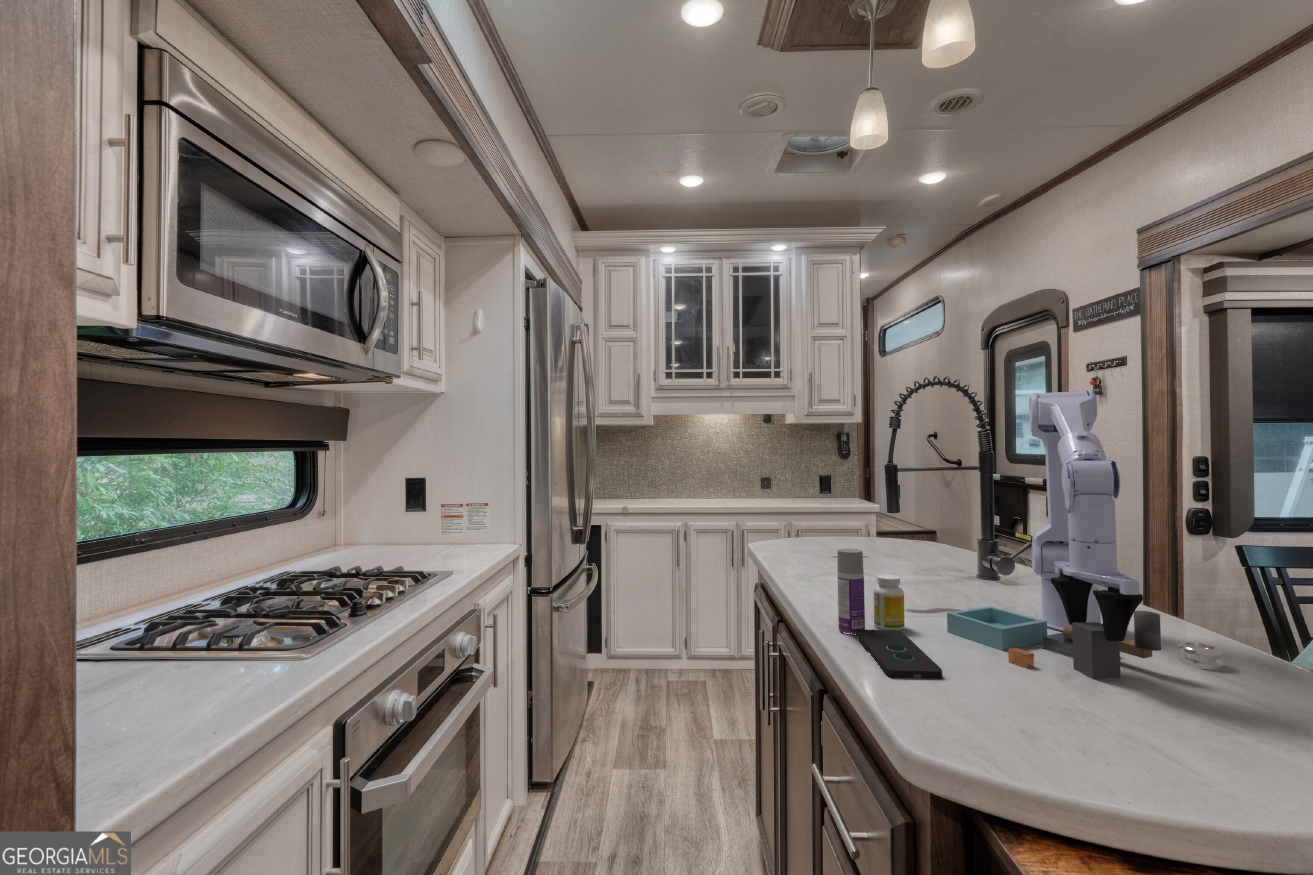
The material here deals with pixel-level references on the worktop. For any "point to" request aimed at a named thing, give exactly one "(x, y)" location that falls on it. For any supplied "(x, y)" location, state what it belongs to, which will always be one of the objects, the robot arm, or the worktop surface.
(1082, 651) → the block
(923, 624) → the worktop surface
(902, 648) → the black flat panel
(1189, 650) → the metal wheel
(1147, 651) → the crank lever
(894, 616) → the supplement bottle
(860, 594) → the container
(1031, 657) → the wooden and grey pieces
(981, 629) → the tray
